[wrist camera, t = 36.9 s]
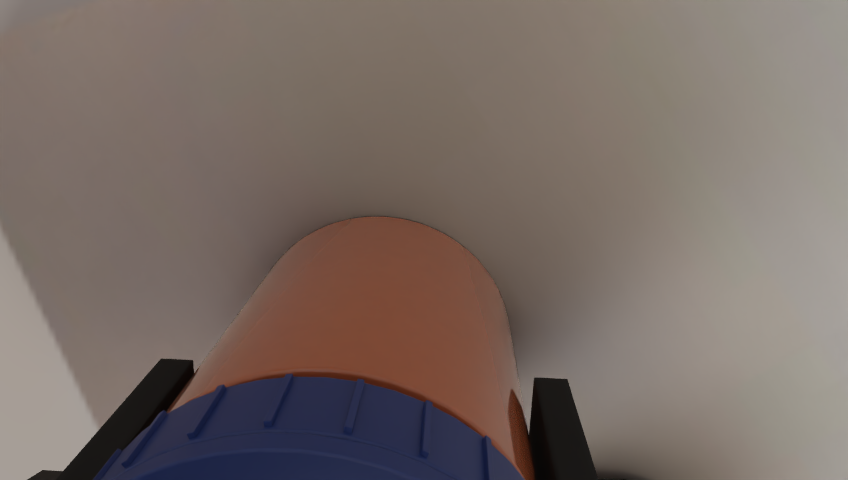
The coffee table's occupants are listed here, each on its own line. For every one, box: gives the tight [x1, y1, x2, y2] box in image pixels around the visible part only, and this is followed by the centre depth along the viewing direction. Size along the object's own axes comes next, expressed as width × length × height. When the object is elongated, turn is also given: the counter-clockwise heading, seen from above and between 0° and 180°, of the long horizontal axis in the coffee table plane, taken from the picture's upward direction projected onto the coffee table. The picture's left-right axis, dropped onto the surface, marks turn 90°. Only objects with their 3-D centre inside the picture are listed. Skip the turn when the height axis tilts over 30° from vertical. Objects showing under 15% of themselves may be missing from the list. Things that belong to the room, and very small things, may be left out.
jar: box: [166, 217, 536, 480], centre depth 16 cm, size 8×8×11 cm
